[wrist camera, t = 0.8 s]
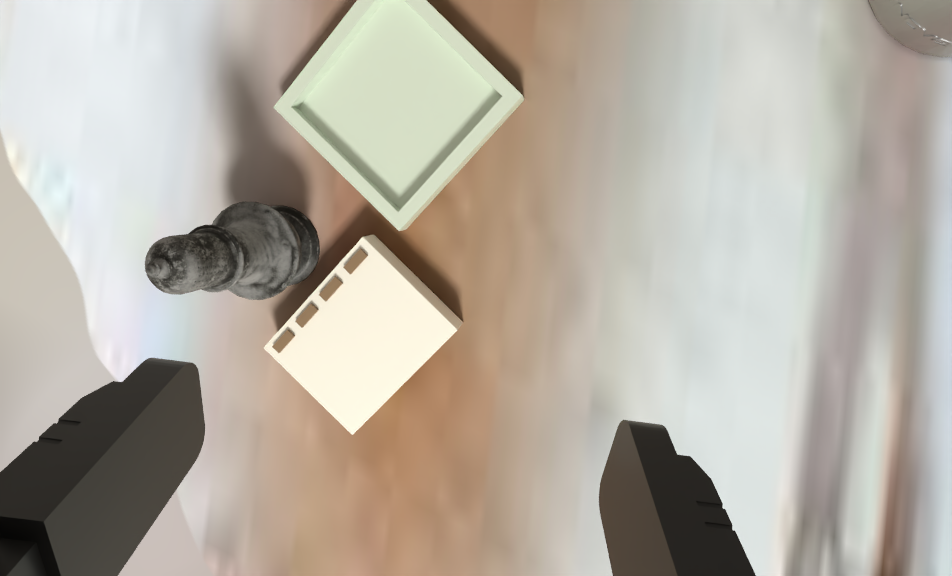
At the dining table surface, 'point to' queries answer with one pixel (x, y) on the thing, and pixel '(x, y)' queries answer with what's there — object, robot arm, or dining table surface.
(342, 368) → the board
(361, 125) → the tray
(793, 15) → the dining table surface
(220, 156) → the dining table surface
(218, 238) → the grey stone rounded piece
